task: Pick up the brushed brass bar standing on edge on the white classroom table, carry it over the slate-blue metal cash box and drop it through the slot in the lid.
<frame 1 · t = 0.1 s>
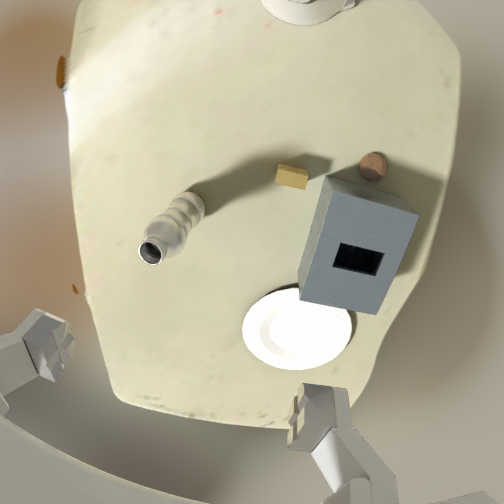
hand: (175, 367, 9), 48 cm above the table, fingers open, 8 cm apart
coin box: (348, 235, 57), on the table
copper token: (372, 166, 51), on the table
plate: (297, 328, 69), on the table
brushed brass bar: (291, 173, 53), on the table
plastic bottle: (191, 205, 58), on the table
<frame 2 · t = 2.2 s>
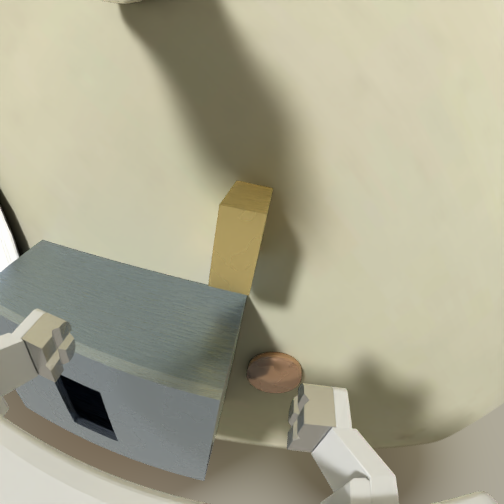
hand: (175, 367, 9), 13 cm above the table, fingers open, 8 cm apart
coin box: (132, 330, 28), on the table
copper token: (275, 367, 28), on the table
brushed brass bar: (248, 219, 21), on the table
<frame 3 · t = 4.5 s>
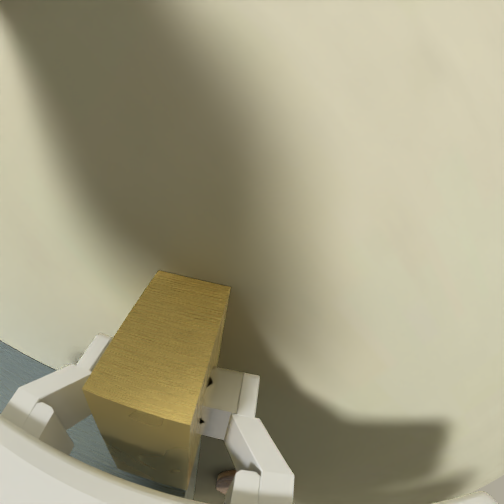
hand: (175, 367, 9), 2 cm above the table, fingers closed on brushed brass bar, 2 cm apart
coin box: (69, 424, 17), on the table
copper token: (253, 478, 18), on the table
brushed brass bar: (189, 335, 11), on the table, touching gripper
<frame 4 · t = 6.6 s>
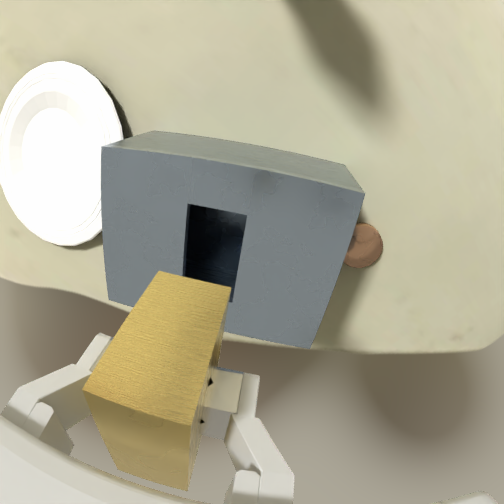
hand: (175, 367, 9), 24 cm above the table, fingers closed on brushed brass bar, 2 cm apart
coin box: (234, 212, 33), on the table
copper token: (358, 242, 33), on the table
plate: (55, 154, 33), on the table
brushed brass bar: (189, 335, 11), point 23 cm above the table, touching gripper
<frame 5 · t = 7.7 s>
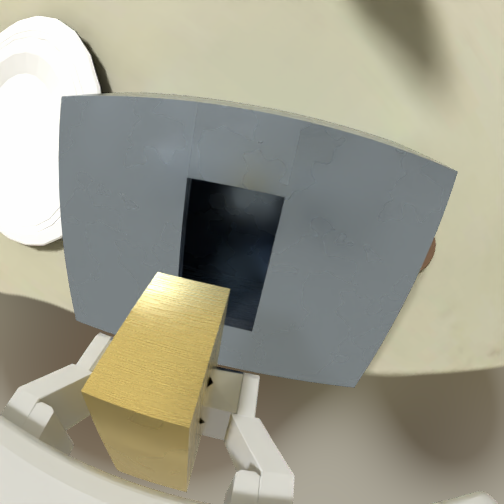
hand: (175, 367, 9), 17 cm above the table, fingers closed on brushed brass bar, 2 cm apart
coin box: (248, 201, 24), on the table
plate: (23, 131, 24), on the table
brushed brass bar: (188, 336, 11), point 15 cm above the table, touching gripper
when the fingers open (13 cm above the table, at t = 8.7 s): brushed brass bar drops 10 cm, resting on coin box.
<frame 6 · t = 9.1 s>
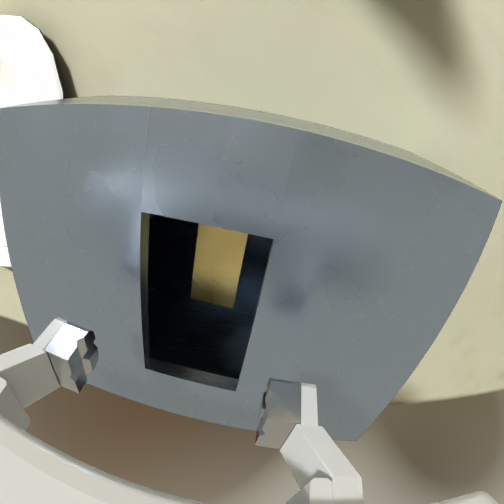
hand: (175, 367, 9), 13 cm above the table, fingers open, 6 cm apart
coin box: (234, 223, 21), on the table
brushed brass bar: (233, 226, 20), point 1 cm above the table, touching coin box
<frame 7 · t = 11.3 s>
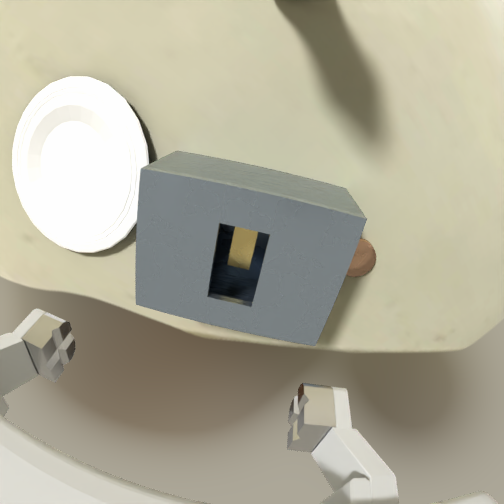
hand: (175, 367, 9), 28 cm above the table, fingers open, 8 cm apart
coin box: (248, 226, 37), on the table
copper token: (355, 254, 38), on the table
plate: (76, 165, 36), on the table
brushed brass bar: (247, 228, 37), point 1 cm above the table, touching coin box
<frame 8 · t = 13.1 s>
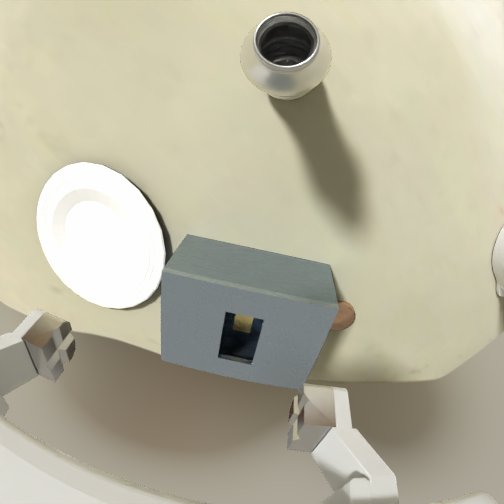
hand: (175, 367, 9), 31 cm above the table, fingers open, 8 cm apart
coin box: (248, 294, 45), on the table
copper token: (337, 313, 46), on the table
plate: (98, 237, 45), on the table
brushed brass bar: (248, 296, 45), point 1 cm above the table, touching coin box
plastic bottle: (287, 74, 32), on the table
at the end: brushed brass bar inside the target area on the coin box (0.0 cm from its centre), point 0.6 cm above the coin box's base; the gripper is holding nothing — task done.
